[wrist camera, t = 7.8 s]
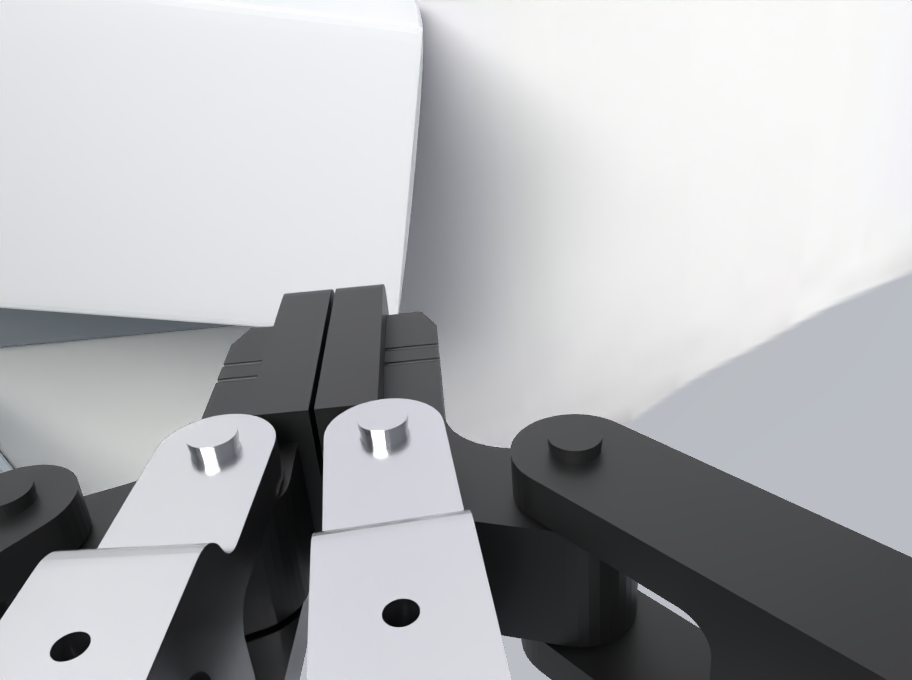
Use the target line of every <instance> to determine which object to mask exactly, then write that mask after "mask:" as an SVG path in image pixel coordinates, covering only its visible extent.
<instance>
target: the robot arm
mask: <svg viewBox="0 0 912 680" xmlns="http://www.w3.org/2000/svg"><path fill="white" fill-rule="evenodd" d="M638 583H639V584H641V585H643V586H644V587H646V588H647V589H649V590H651V591H653V592H654V593H656V594H657V595H659V596H661V597H662V598H664V599H665V600H667V601H669V602H671V603H672V604H674V605H675V606H677V607H679V608H680V609H681V610H683V611H684V612H685V613H687V614H688V615H689V616H690V617H691V618H692V619H693V620H694V621H695V622H696V623H697V625H698V626H699V627H700V628H698V627H697V626H695V625H693V624H692V623H690V622H688V621H687V620H685V619H684V618H682V617H681V616H679V615H677V614H676V613H674V612H672V611H671V610H669V609H668V608H666V607H664V606H663V605H661V604H660V603H658V602H656V601H654V600H653V599H651V598H650V597H648V596H646V595H645V594H643V593H641V592H640V591H639V590H637V586H638ZM501 635H504V636H510V637H516V638H521V639H522V645H523V649H524V651H525V653H526V655H527V657H528V658H529V660H530V661H531V662H532V664H533V665H534V666H536V668H538V669H539V670H540V671H541V672H542V673H544V674H545V675H546V676H548V677H549V678H550V679H552V680H912V558H911V557H910V556H907V555H905V554H903V553H901V552H899V551H896V550H894V549H892V548H890V547H888V546H885V545H883V544H881V543H879V542H877V541H875V540H872V539H870V538H868V537H866V536H864V535H861V534H859V533H857V532H855V531H853V530H850V529H848V528H846V527H844V526H842V525H840V524H837V523H835V522H833V521H831V520H829V519H826V518H824V517H822V516H820V515H818V514H815V513H813V512H811V511H809V510H807V509H804V508H802V507H800V506H798V505H796V504H793V503H791V502H789V501H787V500H784V499H782V498H780V497H778V496H776V495H774V494H772V493H769V492H767V491H765V490H763V489H761V488H758V487H756V486H754V485H752V484H750V483H748V482H745V481H743V480H741V479H739V478H737V477H734V476H732V475H730V474H727V473H725V472H723V471H721V470H719V469H717V468H715V467H712V466H710V465H708V464H706V463H704V462H702V461H699V460H697V459H695V458H693V457H691V456H688V455H686V454H684V453H682V452H680V451H677V450H675V449H673V448H670V447H669V446H666V445H664V444H662V443H660V442H657V441H656V440H653V439H651V438H649V437H647V436H645V435H642V434H640V433H638V432H636V431H634V430H631V429H629V428H627V427H625V426H623V425H621V424H618V423H616V422H613V421H611V420H608V419H605V418H601V417H597V416H591V415H580V414H571V415H559V416H553V417H549V418H545V419H542V420H539V421H536V422H534V423H532V424H530V425H528V426H527V427H526V428H524V429H523V430H521V431H520V432H519V433H518V434H517V435H516V437H515V438H514V440H513V442H512V445H511V449H508V448H498V447H491V446H485V445H481V444H477V443H474V442H472V441H469V440H467V439H465V438H463V437H461V436H459V435H458V434H457V433H455V432H454V431H453V430H452V429H451V428H450V427H449V426H448V424H447V422H446V418H445V408H444V398H443V387H442V377H441V367H440V357H439V347H438V337H437V327H436V325H435V324H434V323H433V322H432V321H431V320H430V319H429V318H427V317H426V316H425V315H424V314H423V313H422V312H414V313H404V314H393V315H389V310H388V303H387V296H386V290H385V285H384V284H379V285H368V286H358V287H347V288H337V289H336V290H335V292H334V290H333V289H328V290H317V291H307V292H296V293H286V294H284V295H283V298H282V301H281V304H280V307H279V310H278V313H277V316H276V320H275V323H274V326H270V327H259V328H251V329H250V330H249V331H248V332H247V333H245V334H244V335H243V336H242V337H241V338H240V339H238V340H237V341H236V342H235V343H234V344H232V345H231V347H230V350H229V352H228V355H227V357H226V360H225V362H224V367H222V370H221V372H220V375H219V377H218V383H216V385H215V387H214V390H213V392H212V395H211V397H210V399H209V402H208V404H207V407H206V409H205V412H204V414H203V417H202V419H201V420H198V421H196V422H193V423H190V424H188V425H186V426H184V427H182V428H180V429H178V430H177V431H175V432H173V433H172V434H171V435H169V436H168V437H167V438H165V439H164V440H163V441H162V442H161V443H160V444H159V446H158V447H157V449H156V450H155V452H154V453H153V455H152V457H151V458H150V460H149V462H148V463H147V465H146V467H145V468H144V470H143V472H142V474H141V475H140V477H139V479H138V480H137V481H135V482H132V483H129V484H126V485H122V486H119V487H115V488H112V489H108V490H105V491H101V492H98V493H94V494H91V495H87V496H84V497H83V494H82V492H81V489H80V486H79V483H78V480H77V477H76V476H75V475H74V473H73V472H71V471H70V470H68V469H66V468H63V467H60V466H54V465H34V466H27V467H21V468H17V469H13V470H9V471H6V472H3V473H0V680H300V675H301V671H302V666H303V662H304V657H305V653H306V648H307V673H306V674H307V675H306V680H512V678H511V674H510V670H509V666H508V662H507V657H506V653H505V649H504V645H503V641H502V637H501Z"/></svg>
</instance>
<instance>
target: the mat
mask: <svg viewBox="0 0 912 680" xmlns="http://www.w3.org/2000/svg"><path fill="white" fill-rule="evenodd" d="M224 326H235V325H225V324H211V323H198V322H185V321H171V320H158V319H144V318H131V317H117V316H104V315H91V314H77V313H64V312H50V311H37V310H23V309H10V308H0V347H6V346H17V345H28V344H39V343H50V342H61V341H72V340H83V339H94V338H104V337H115V336H126V335H137V334H148V333H159V332H170V331H181V330H192V329H202V328H213V327H224Z"/></svg>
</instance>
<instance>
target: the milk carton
mask: <svg viewBox="0 0 912 680" xmlns="http://www.w3.org/2000/svg"><path fill="white" fill-rule="evenodd" d="M422 68H423V25H422V19H421V14H420V9H419V5H418V1H417V0H0V308H10V309H23V310H37V311H50V312H64V313H77V314H91V315H104V316H117V317H131V318H144V319H158V320H171V321H185V322H198V323H211V324H225V325H238V326H252V327H270V326H274V323H275V320H276V316H277V313H278V310H279V307H280V304H281V301H282V298H283V295H284V294H286V293H296V292H307V291H317V290H328V289H333V290H334V292H335V290H336V289H337V288H347V287H358V286H368V285H379V284H384V285H385V290H386V296H387V303H388V310H389V315H393V314H399V308H400V301H401V293H402V286H403V278H404V270H405V262H406V254H407V245H408V235H409V226H410V217H411V207H412V196H413V186H414V176H415V164H416V153H417V141H418V129H419V116H420V102H421V86H422Z"/></svg>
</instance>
